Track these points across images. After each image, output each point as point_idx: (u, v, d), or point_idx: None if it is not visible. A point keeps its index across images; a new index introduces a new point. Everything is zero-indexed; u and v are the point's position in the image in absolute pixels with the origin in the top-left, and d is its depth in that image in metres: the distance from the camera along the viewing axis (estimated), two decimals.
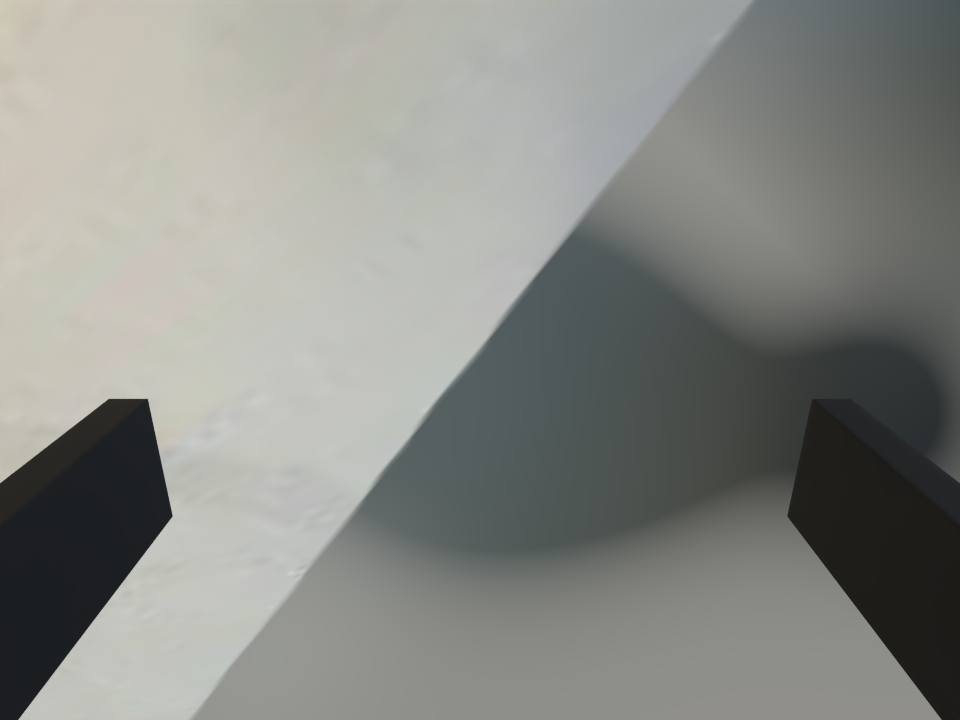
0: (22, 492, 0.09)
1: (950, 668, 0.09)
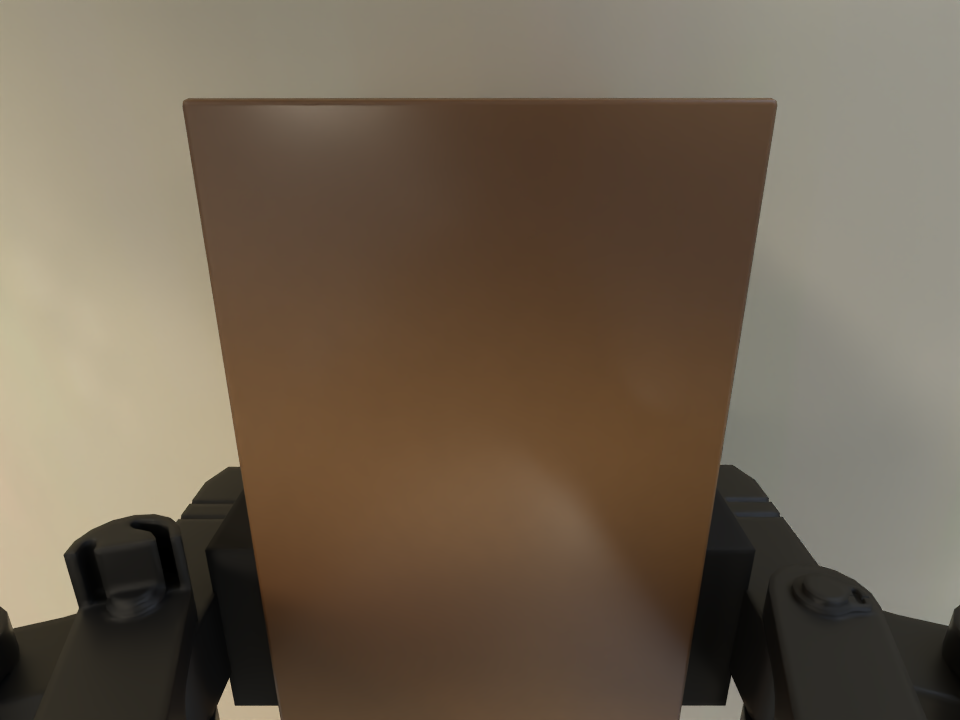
0: None
1: None
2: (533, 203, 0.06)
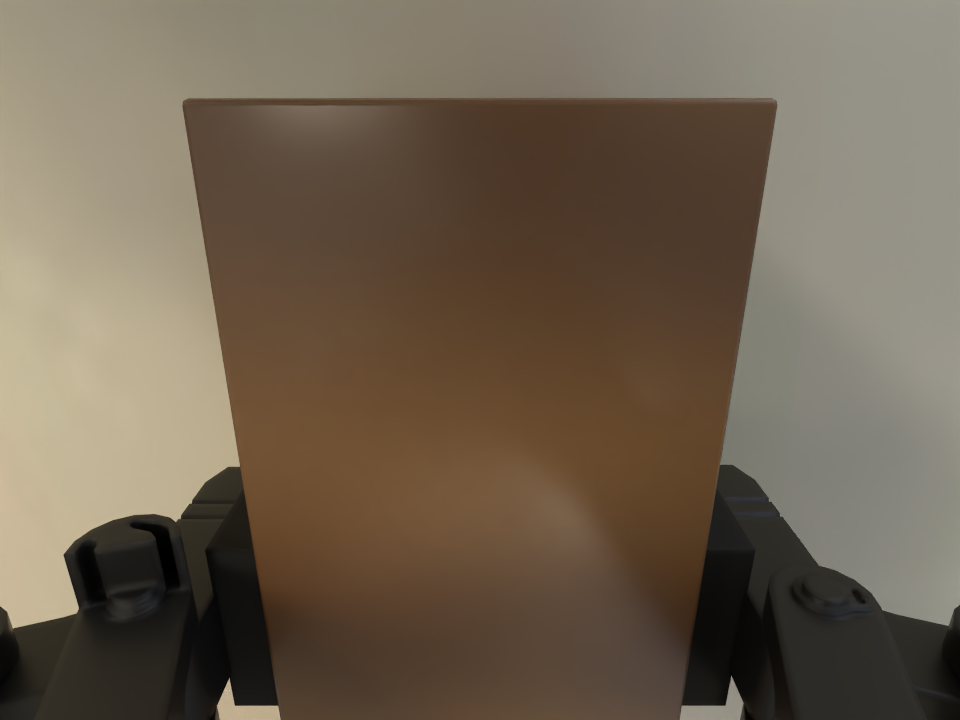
0: None
1: None
2: (533, 203, 0.06)
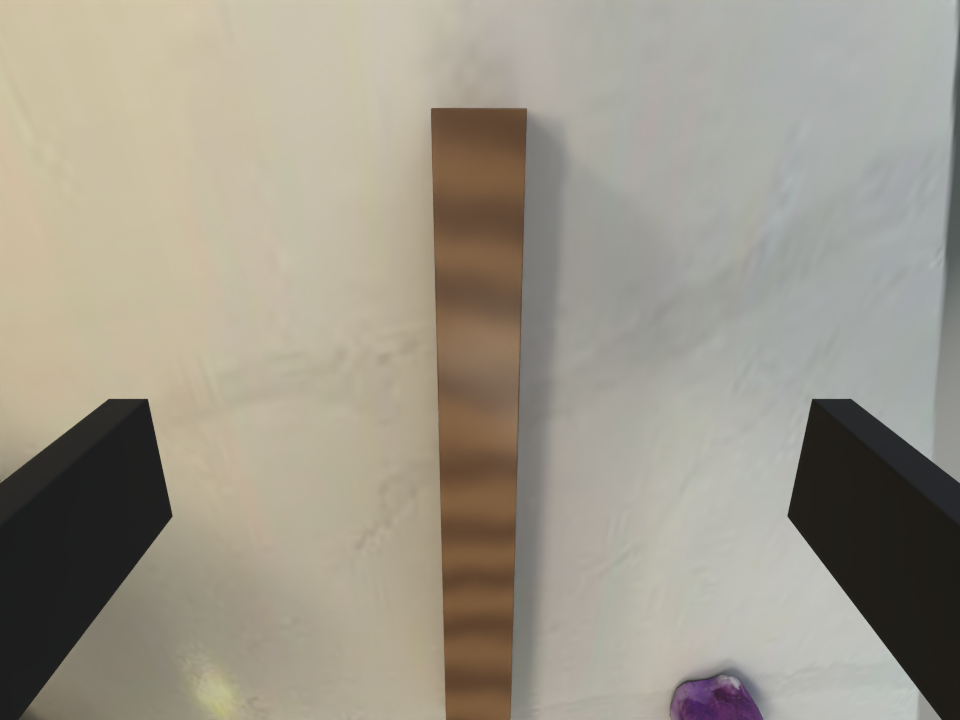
0: (22, 492, 0.09)
1: (951, 668, 0.09)
2: (487, 125, 0.37)
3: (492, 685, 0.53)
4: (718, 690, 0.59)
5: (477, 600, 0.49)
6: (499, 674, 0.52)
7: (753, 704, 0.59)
